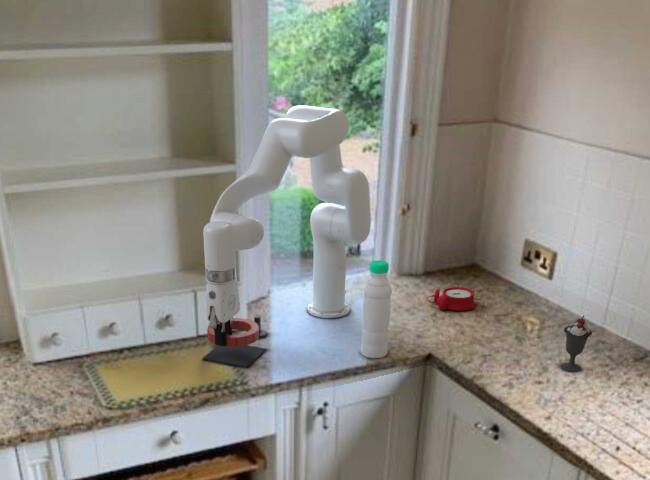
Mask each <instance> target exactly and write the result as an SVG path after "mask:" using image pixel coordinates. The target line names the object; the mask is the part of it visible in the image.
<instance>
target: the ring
mask: <svg viewBox="0 0 650 480" xmlns="http://www.w3.org/2000/svg"><path fill="white" fill-rule="evenodd" d="M232 321H233V325H232V326H230V327H232V331H243V333H238V334H232V335H227V346H223V347H240V346H246V345H248V346H250V345H252V344H254V343H256V342H257V341H258V340H259V339H260V338H259V326H258V324H257V323H256V322H254V320H251V319H248V318H243V317H233V318H232ZM217 324H220V325H221V323H217ZM206 334H207V340H208V341H209V342H210V343H211V344H213V345H216V344H215V333H214V330H213V328H210V327H209V324H208V326H207V328H206ZM216 346H220V345H216Z"/></svg>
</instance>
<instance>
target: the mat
mask: <svg viewBox="0 0 650 480" xmlns="http://www.w3.org/2000/svg"><path fill="white" fill-rule="evenodd" d="M265 352H267V348H264V347H259V346H253V345H246V346H240V347H223V346H218V345H216V346H215V348H213V349H212V350H211V351H209V352H208V353H207V354H206V355H205V356H204V357H202V361H207V362H212V363H218V364H222V365H228V366H233V367H239V368H245V369H248V368H249V367H250V366H251V365H252V364H253V363H255V362H256V361H257V360H258V359H259V358H260V357H261V356H262V355H263V354H264V353H265Z"/></svg>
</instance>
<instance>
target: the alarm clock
mask: <svg viewBox="0 0 650 480" xmlns="http://www.w3.org/2000/svg"><path fill="white" fill-rule="evenodd" d="M440 292H441V290H440V288H437V289H435V291H434V294H432V295H430V296H427V297H426V300H427V301H428V303H432V304H436V306H437V308H438V309H439V310H440V311H445V310H450V311H457V312H458V311H459V312H460V311H468V310H469V311H470V310H472V309H474V308H475V306H477V305H476V304H477V303H476V302H475V300H477V301H482V299H481V298H476V297H475V290H472V289H470V288H467V287H459V286H452V287H447V288H445V289H444V290H443V291H442V295H440ZM432 297H433V301H432V300H429V298H432Z"/></svg>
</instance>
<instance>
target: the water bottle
mask: <svg viewBox="0 0 650 480" xmlns="http://www.w3.org/2000/svg"><path fill="white" fill-rule="evenodd" d="M389 266H390V265H389V263H388V262H387V261H386V260H378V259H377V260H372V261H371V262H370V263H369V273H370V277H369V278H368V279H367V282H366V284H365V286H364V288H363V295H364V296H363V304H362V330H361V346H360V353H361V354H362V355H363V356H364V357H366V358H369V359H380V358H383V357H386V356H387V354H388V351H389V350H388V349H389V342H388V340H389V336H390V334H389V327H390V319H391V305H392V304H391V302H392V301H391V300H392V299H391V295H392V290H393V289H392V287H391V286H392V285H391V284H390V282H389V281H390V280H389V279H388V277H387V275H388V273H389V268H390V267H389Z"/></svg>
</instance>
